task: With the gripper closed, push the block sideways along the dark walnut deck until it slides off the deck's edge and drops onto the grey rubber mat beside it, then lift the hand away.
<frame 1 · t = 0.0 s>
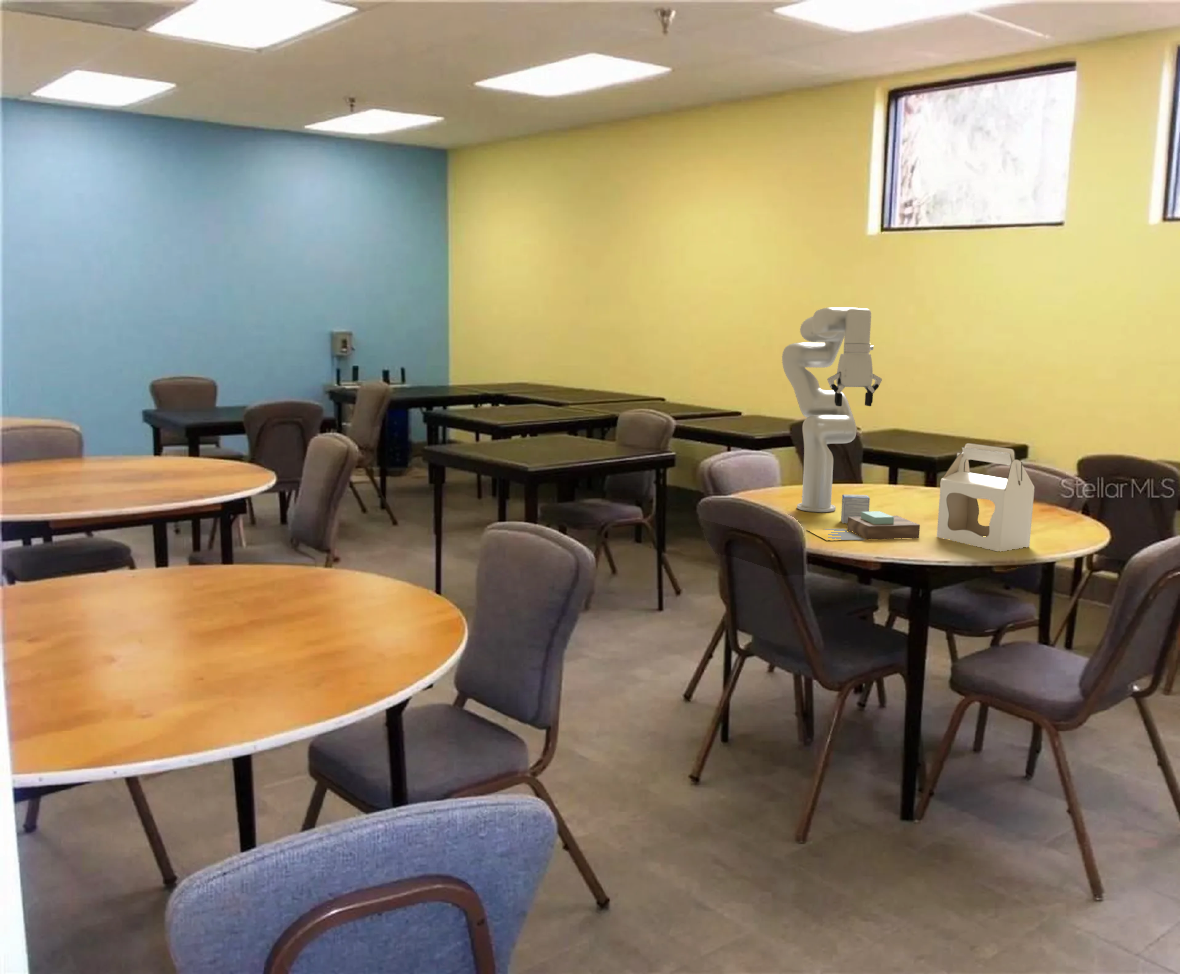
hand: (853, 405, 313), 37 cm above the table, tool pointing down, fingers open, 9 cm apart
deck: (882, 533, 305), on the table
block: (877, 520, 304), point 4 cm above the table, touching deck
gable box: (982, 542, 296), on the table
mat: (835, 535, 302), on the table
medicine box: (854, 523, 321), on the table
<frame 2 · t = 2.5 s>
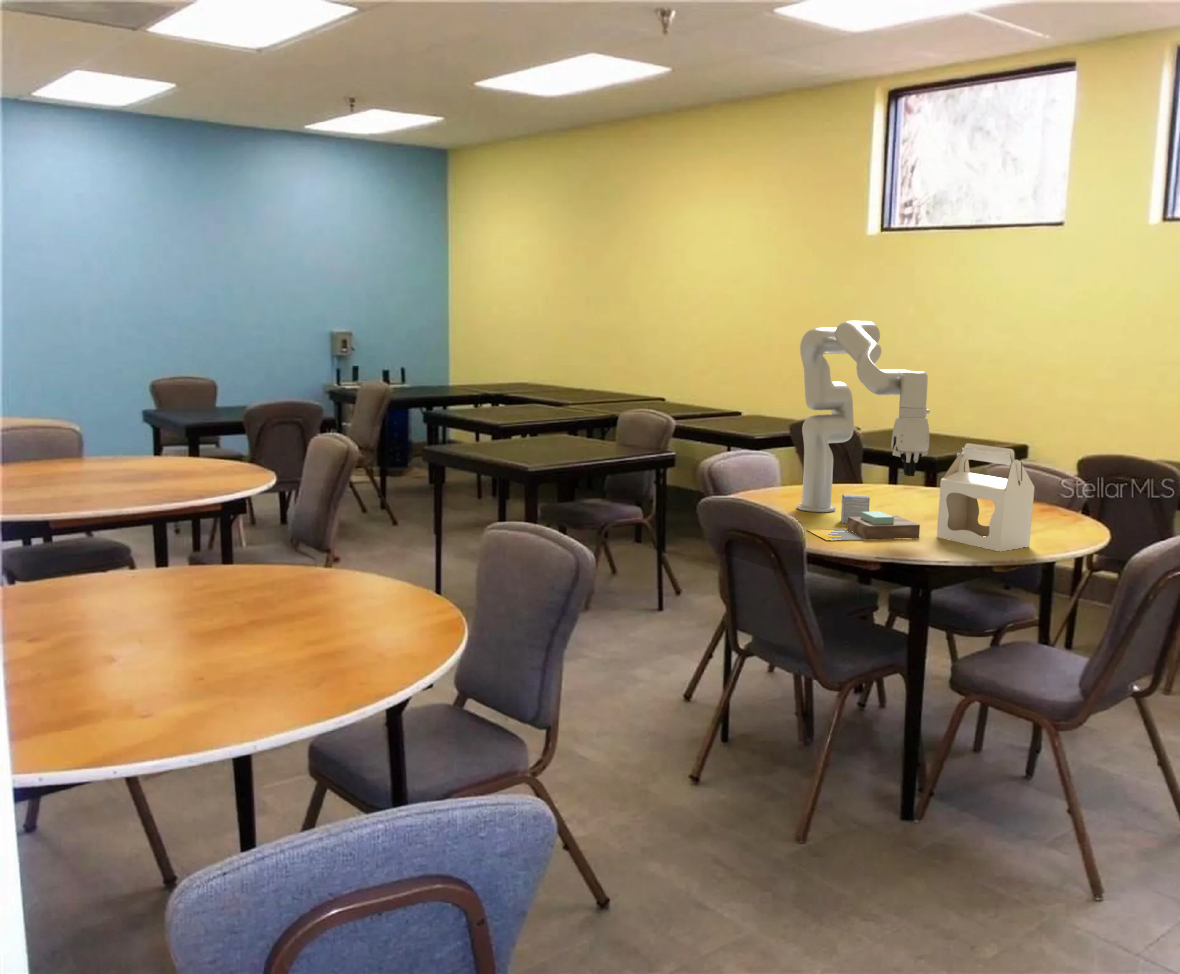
hand: (909, 475, 303), 18 cm above the table, tool pointing down, fingers closed
nothing on the table moved.
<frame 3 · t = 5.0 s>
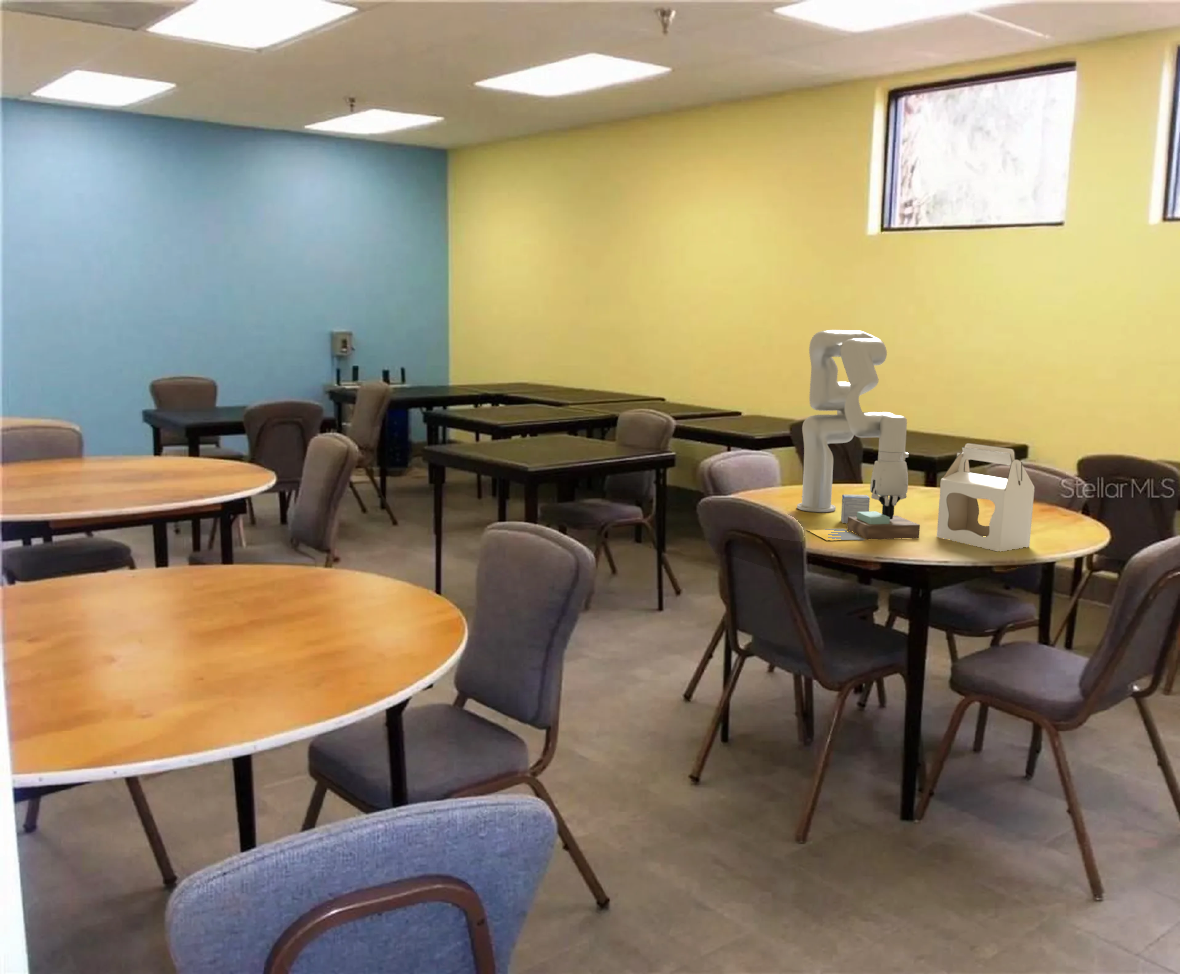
hand: (887, 518, 304), 5 cm above the table, tool pointing down, fingers closed
block: (872, 521, 303), point 4 cm above the table, touching deck, gripper
everything else where it was.
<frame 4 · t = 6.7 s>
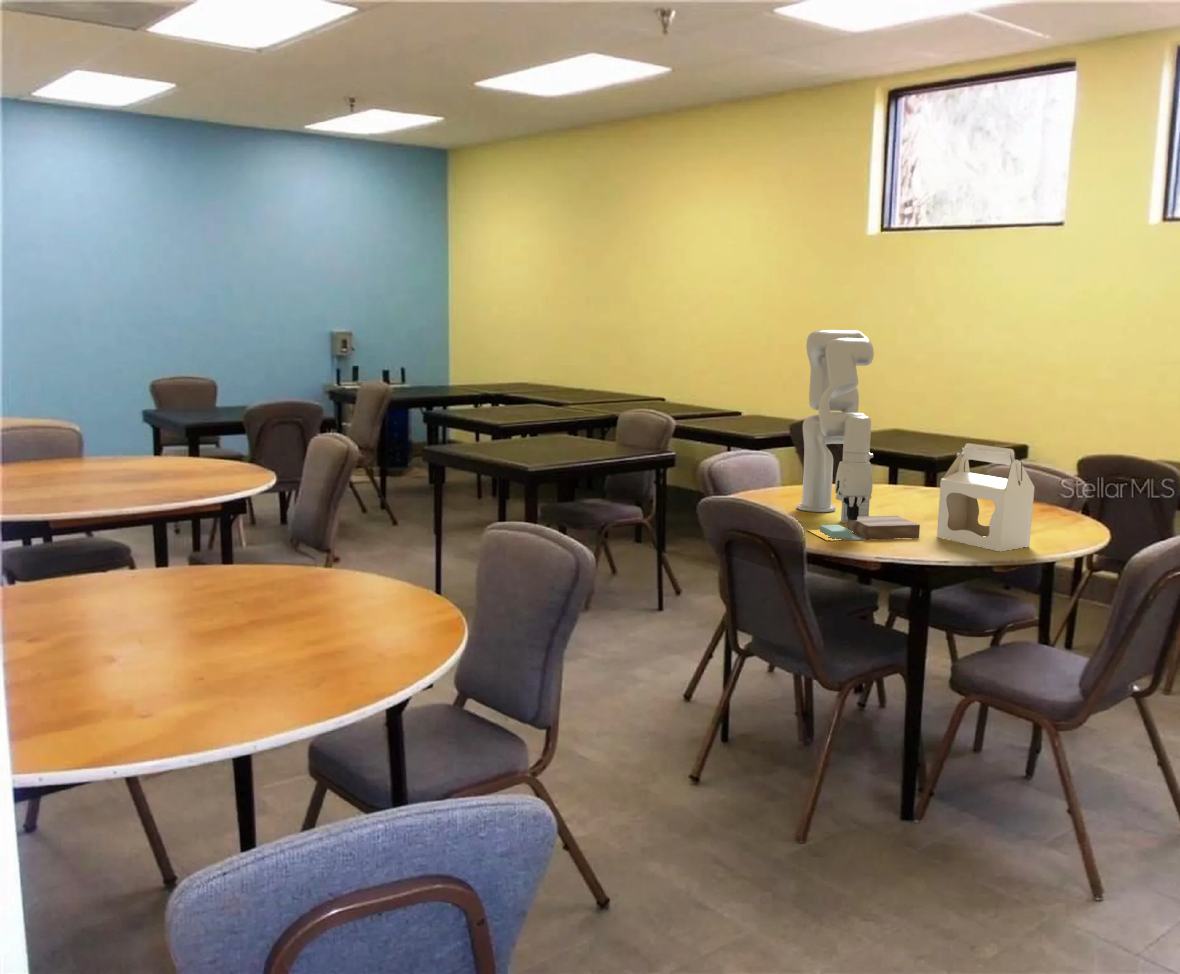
hand: (852, 519, 302), 5 cm above the table, tool pointing down, fingers closed
block: (835, 528, 301), point 2 cm above the table, tilted 180°, touching mat
everything else where it was.
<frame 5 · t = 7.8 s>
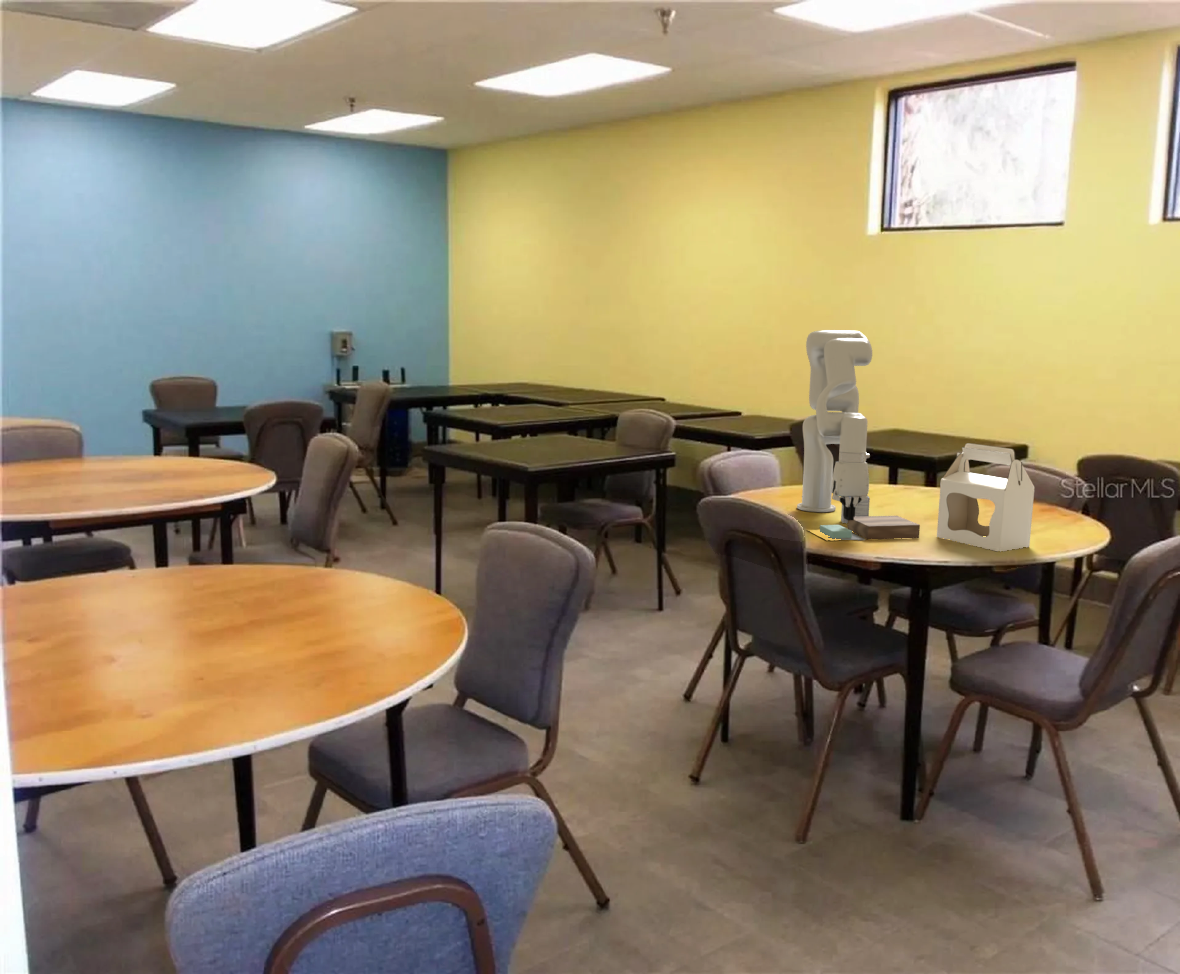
hand: (848, 519, 302), 5 cm above the table, tool pointing down, fingers closed
nothing on the table moved.
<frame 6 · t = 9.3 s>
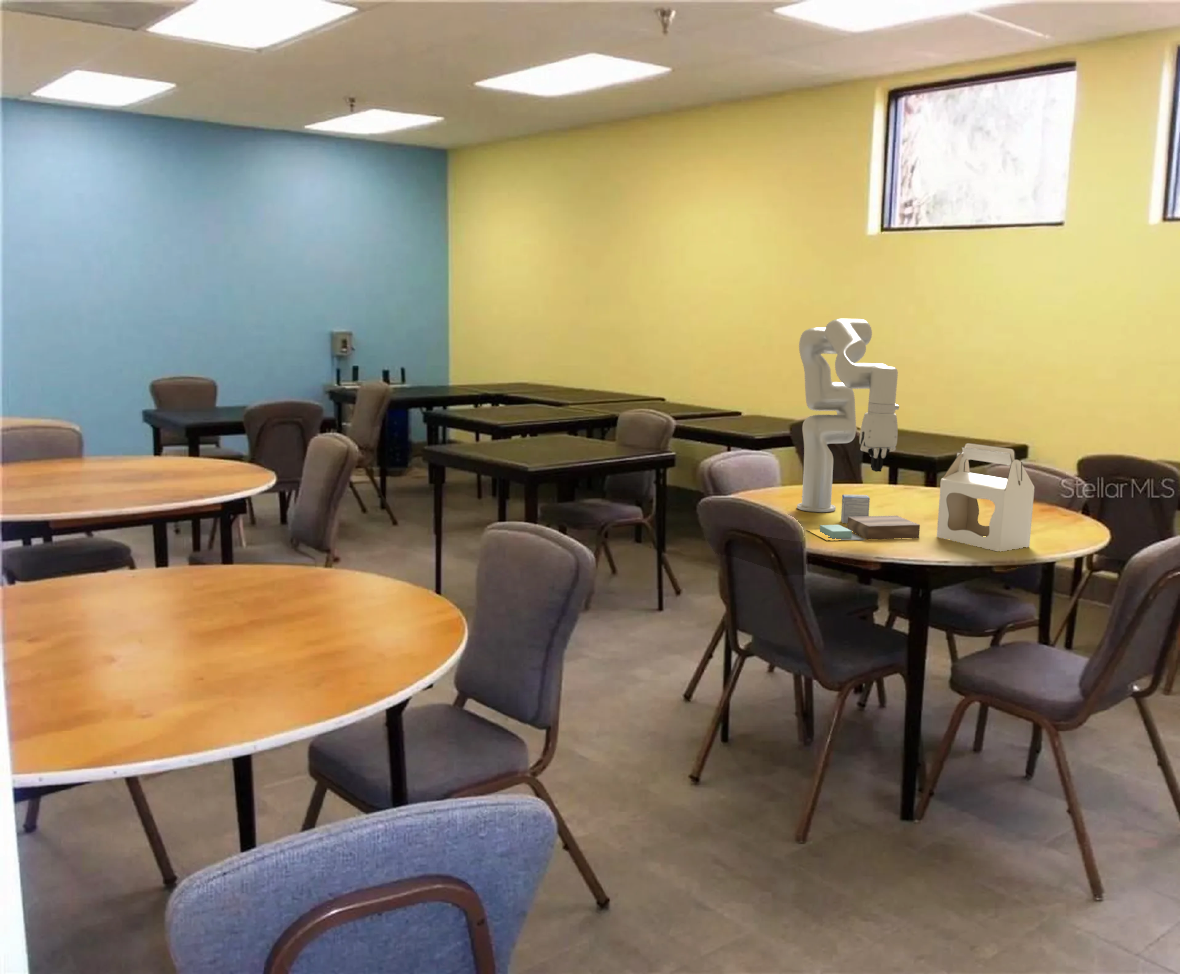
hand: (876, 470, 302), 19 cm above the table, tool pointing down, fingers closed
nothing on the table moved.
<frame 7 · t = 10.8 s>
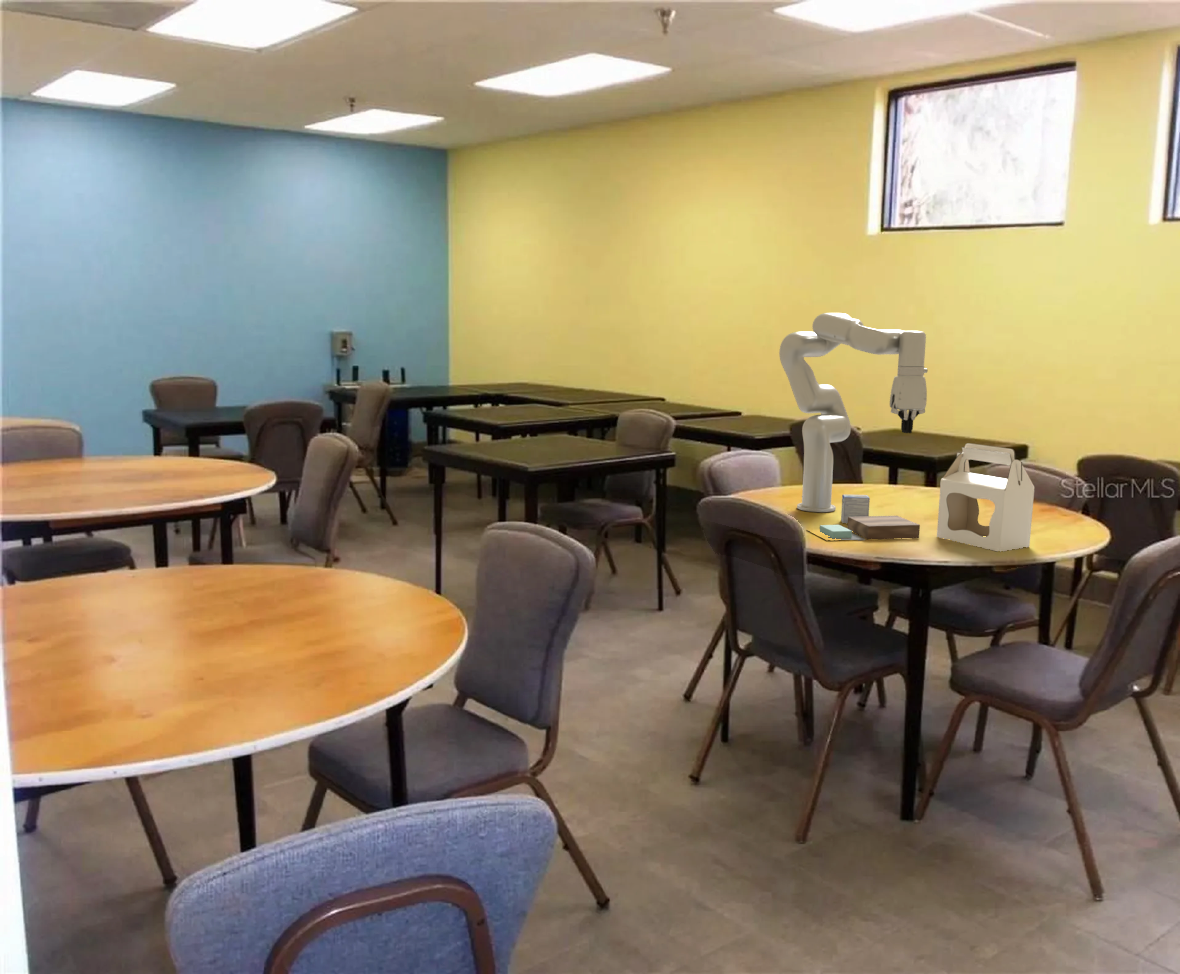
hand: (906, 432, 312), 29 cm above the table, tool pointing down, fingers closed
nothing on the table moved.
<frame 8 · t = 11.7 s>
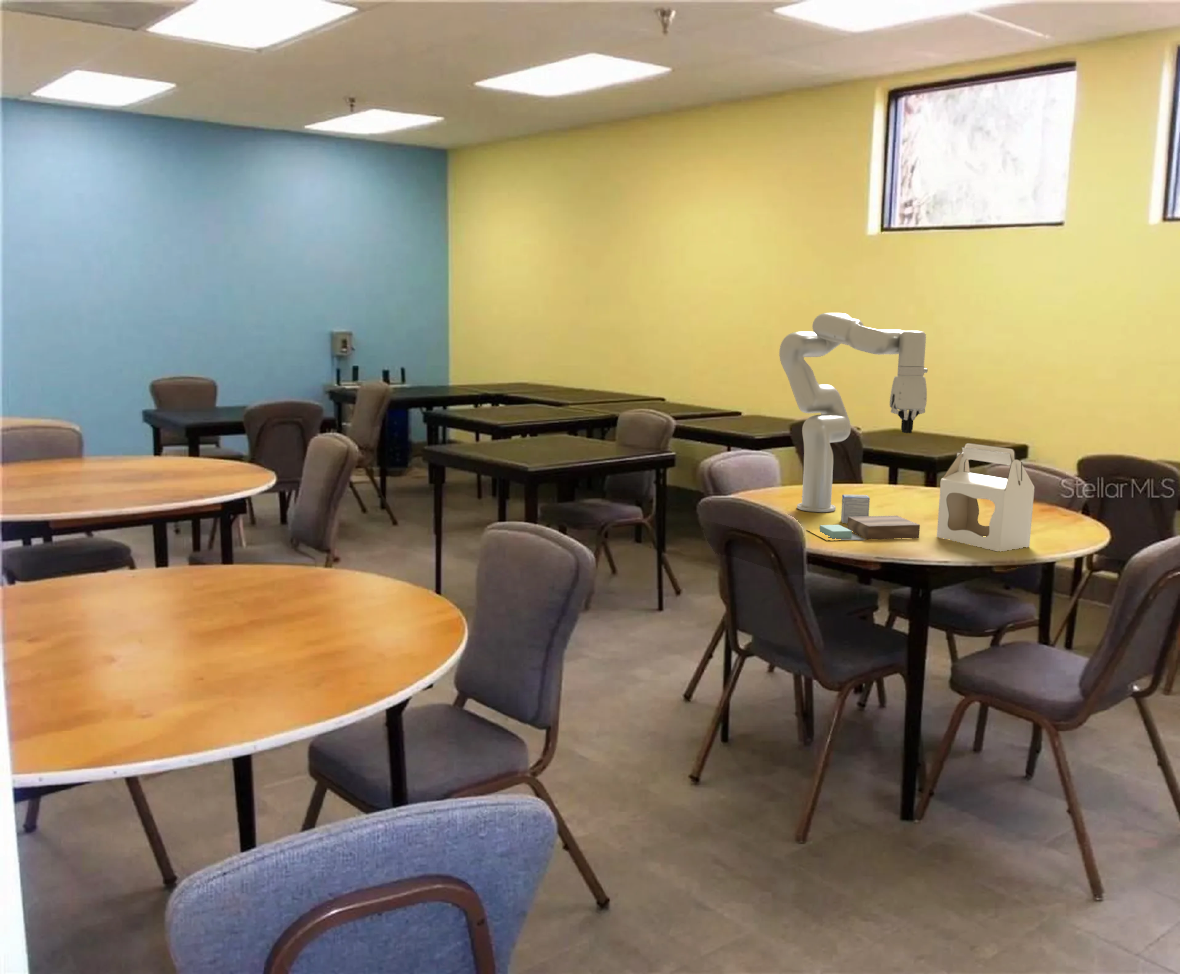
hand: (906, 432, 312), 29 cm above the table, tool pointing down, fingers closed
nothing on the table moved.
at the end: block point 2.3 cm above the table; block inside the target area on the mat (0.5 cm from its centre), point 2.3 cm above the mat's base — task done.
